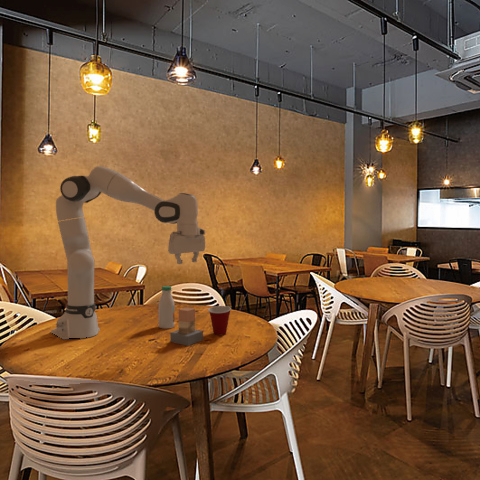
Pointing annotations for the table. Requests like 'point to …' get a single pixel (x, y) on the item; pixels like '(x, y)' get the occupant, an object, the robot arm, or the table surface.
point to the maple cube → (186, 327)
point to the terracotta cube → (186, 314)
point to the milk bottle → (166, 309)
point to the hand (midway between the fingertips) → (187, 263)
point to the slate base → (186, 337)
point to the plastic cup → (219, 319)
